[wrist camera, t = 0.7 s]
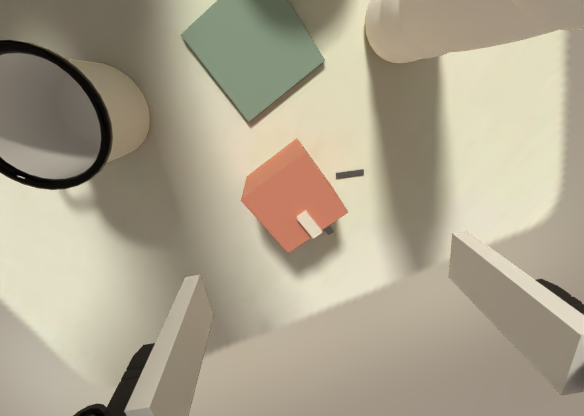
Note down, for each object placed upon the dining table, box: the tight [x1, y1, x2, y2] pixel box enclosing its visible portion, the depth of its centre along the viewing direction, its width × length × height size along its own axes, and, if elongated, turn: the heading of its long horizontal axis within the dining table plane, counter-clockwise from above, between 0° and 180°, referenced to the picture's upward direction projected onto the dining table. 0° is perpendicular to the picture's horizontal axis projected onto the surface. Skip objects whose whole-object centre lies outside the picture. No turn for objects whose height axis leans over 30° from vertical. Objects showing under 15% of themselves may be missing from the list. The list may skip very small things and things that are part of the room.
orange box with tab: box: [241, 139, 348, 253], centre depth 27 cm, size 7×7×8 cm
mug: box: [0, 40, 150, 190], centre depth 23 cm, size 12×10×9 cm
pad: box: [181, 0, 325, 122], centre depth 26 cm, size 9×9×1 cm
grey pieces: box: [324, 170, 364, 235], centre depth 30 cm, size 10×9×4 cm
